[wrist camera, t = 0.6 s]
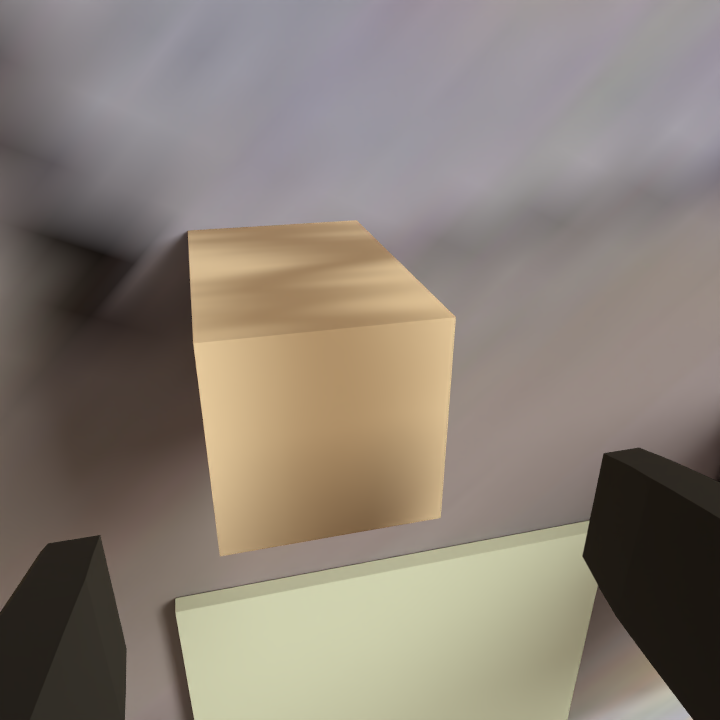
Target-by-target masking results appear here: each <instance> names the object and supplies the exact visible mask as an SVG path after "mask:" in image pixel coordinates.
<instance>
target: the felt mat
mask: <svg viewBox="0 0 720 720" xmlns="http://www.w3.org/2000/svg"><path fill="white" fill-rule="evenodd" d="M589 522H590V521H585V522H579V523H574V524H569V525H563V526H558V527H553V528H547V529H542V530H537V531H531V532H526V533H521V534H515V535H510V536H505V537H500V538H494V539H489V540H484V541H478V542H473V543H468V544H462V545H457V546H452V547H446V548H441V549H436V550H430V551H425V552H420V553H414V554H409V555H404V556H398V557H393V558H388V559H382V560H377V561H372V562H366V563H361V564H356V565H350V566H345V567H340V568H334V569H329V570H324V571H318V572H313V573H308V574H302V575H297V576H292V577H286V578H281V579H276V580H271V581H265V582H260V583H255V584H249V585H244V586H239V587H233V588H228V589H223V590H217V591H212V592H207V593H201V594H196V595H191V596H185V597H180V598H175V613H176V619H177V625H178V630H179V636H180V642H181V647H182V653H183V659H184V664H185V670H186V676H187V681H188V687H189V693H190V698H191V704H192V710H193V715H194V720H567V718H568V713H569V709H570V705H571V700H572V696H573V692H574V687H575V683H576V679H577V674H578V670H579V665H580V661H581V657H582V652H583V648H584V644H585V639H586V635H587V630H588V626H589V622H590V617H591V613H592V609H593V604H594V600H595V596H596V591H597V587H598V584H597V582H596V581H595V579H594V577H593V575H592V573H591V571H590V570H589V568H588V566H587V564H586V562H585V560H584V559H583V557H582V555H583V550H584V546H585V541H586V536H587V531H588V526H589Z"/></svg>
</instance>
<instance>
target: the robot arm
mask: <svg viewBox="0 0 720 720" xmlns="http://www.w3.org/2000/svg"><path fill="white" fill-rule="evenodd" d="M582 557H583V559H584V560H585V562H586V564H587V566H588V568H589V570H590V571H591V573H592V575H593V577H594V579H595V581H596V582H597V584H598V586H599V588H600V590H601V591H602V593H603V595H604V596H605V598H606V600H607V601H608V603H609V605H610V607H611V608H612V610H613V612H614V613H615V615H616V617H617V618H618V619H619V621H620V622H621V624H622V625H623V626H624V628H625V629H626V631H627V632H628V633H629V635H630V636H631V637H632V639H633V640H634V641H635V643H636V644H637V645H638V647H639V648H640V649H641V651H642V652H643V654H644V655H645V656H646V658H647V659H648V660H649V662H650V663H651V664H652V666H653V667H654V668H655V670H656V671H657V672H658V674H659V675H660V676H661V678H662V679H663V680H664V682H665V683H666V684H667V686H668V687H669V688H670V690H671V691H672V692H673V693H674V695H675V696H676V697H677V699H678V700H679V701H680V703H681V704H682V705H683V707H684V708H685V709H686V711H687V712H688V713H689V715H690V716H691V717H692V719H693V720H720V482H717V481H715V480H713V479H711V478H709V477H707V476H705V475H702V474H700V473H698V472H696V471H694V470H691V469H689V468H687V467H685V466H682V465H680V464H678V463H676V462H673V461H671V460H669V459H666V458H664V457H662V456H659V455H657V454H654V453H652V452H649V451H646V450H644V449H641V448H634V449H628V450H622V451H615V452H609V453H604V454H603V459H602V464H601V469H600V474H599V478H598V483H597V488H596V493H595V498H594V502H593V507H592V512H591V517H590V522H589V526H588V531H587V536H586V541H585V546H584V550H583V555H582ZM125 697H126V644H125V640H124V636H123V632H122V627H121V623H120V619H119V614H118V610H117V606H116V601H115V597H114V593H113V589H112V584H111V580H110V576H109V571H108V567H107V563H106V558H105V554H104V550H103V546H102V541H101V537H100V535H98V536H92V537H86V538H80V539H74V540H67V541H61V542H55V543H49V544H47V545H46V547H45V548H44V549H43V550H42V551H41V552H40V554H39V555H38V557H37V558H36V560H35V561H34V563H33V564H32V566H31V567H30V569H29V570H28V572H27V573H26V575H25V576H24V578H23V579H22V581H21V582H20V584H19V585H18V587H17V588H16V590H15V591H14V593H13V594H12V596H11V597H10V599H9V600H8V602H7V603H6V605H5V606H4V608H3V609H2V611H1V612H0V720H125Z"/></svg>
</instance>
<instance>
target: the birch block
mask: <svg viewBox="0 0 720 720" xmlns="http://www.w3.org/2000/svg"><path fill="white" fill-rule="evenodd" d="M188 246H189V266H190V286H191V307H192V327H193V345H194V353H195V361H196V369H197V377H198V385H199V393H200V401H201V408H202V416H203V424H204V432H205V440H206V448H207V456H208V464H209V472H210V480H211V488H212V496H213V504H214V512H215V520H216V528H217V535H218V543H219V551H220V556H225V555H230V554H236V553H242V552H248V551H253V550H259V549H265V548H270V547H276V546H282V545H288V544H293V543H299V542H305V541H311V540H316V539H322V538H328V537H333V536H339V535H345V534H351V533H356V532H362V531H368V530H374V529H379V528H385V527H391V526H397V525H402V524H408V523H414V522H419V521H425V520H431V519H437V518H441V505H442V492H443V479H444V466H445V452H446V439H447V426H448V412H449V399H450V386H451V372H452V359H453V346H454V333H455V319H456V317H455V316H454V315H453V314H452V313H451V312H450V311H449V310H448V309H447V308H446V307H445V306H444V305H443V304H442V303H441V302H440V301H439V300H437V299H436V298H435V297H434V296H433V295H432V294H431V293H430V292H429V291H428V290H427V289H426V288H425V287H424V286H423V285H422V284H421V283H420V282H419V281H418V280H417V279H416V278H415V277H414V276H413V275H412V274H411V273H410V272H409V271H408V270H407V269H406V268H405V267H404V266H403V265H402V264H401V263H400V262H399V261H398V260H397V259H396V258H395V257H394V256H392V255H391V254H390V253H389V252H388V251H387V250H386V249H385V248H384V247H383V246H382V245H381V244H380V243H379V242H378V241H377V240H376V239H375V238H374V237H373V236H372V235H371V234H370V233H369V232H368V231H367V230H366V229H365V228H364V227H363V226H362V225H361V224H360V223H359V222H358V221H357V220H355V221H339V222H323V223H306V224H290V225H273V226H257V227H241V228H224V229H208V230H192V231H188Z"/></svg>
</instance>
